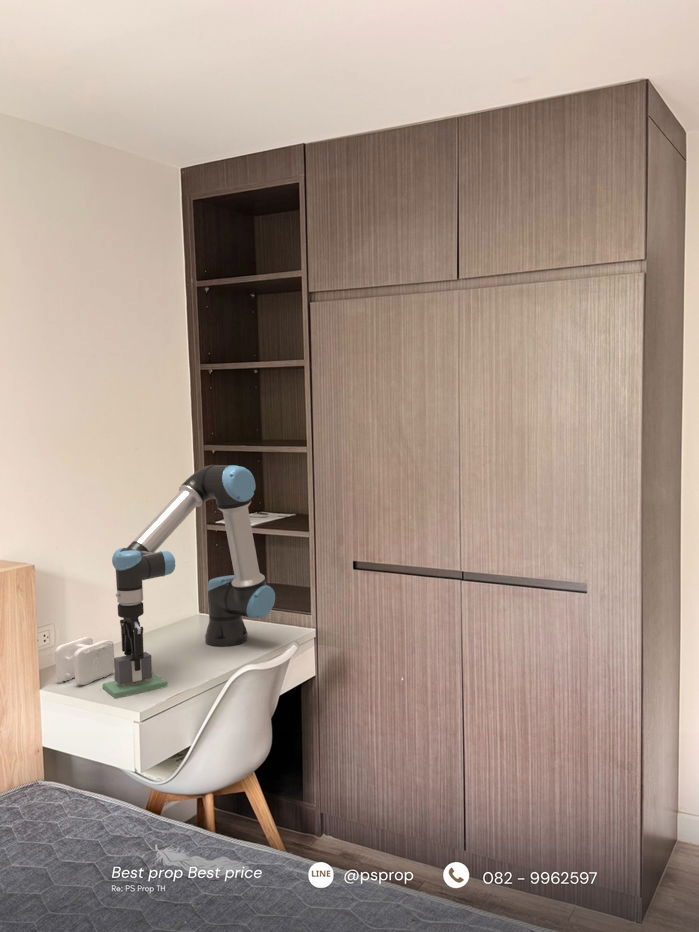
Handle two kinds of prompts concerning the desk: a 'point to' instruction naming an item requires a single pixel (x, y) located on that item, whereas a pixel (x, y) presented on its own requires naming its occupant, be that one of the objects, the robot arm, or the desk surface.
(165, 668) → the desk surface
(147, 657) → the block
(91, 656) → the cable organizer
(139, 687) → the board
